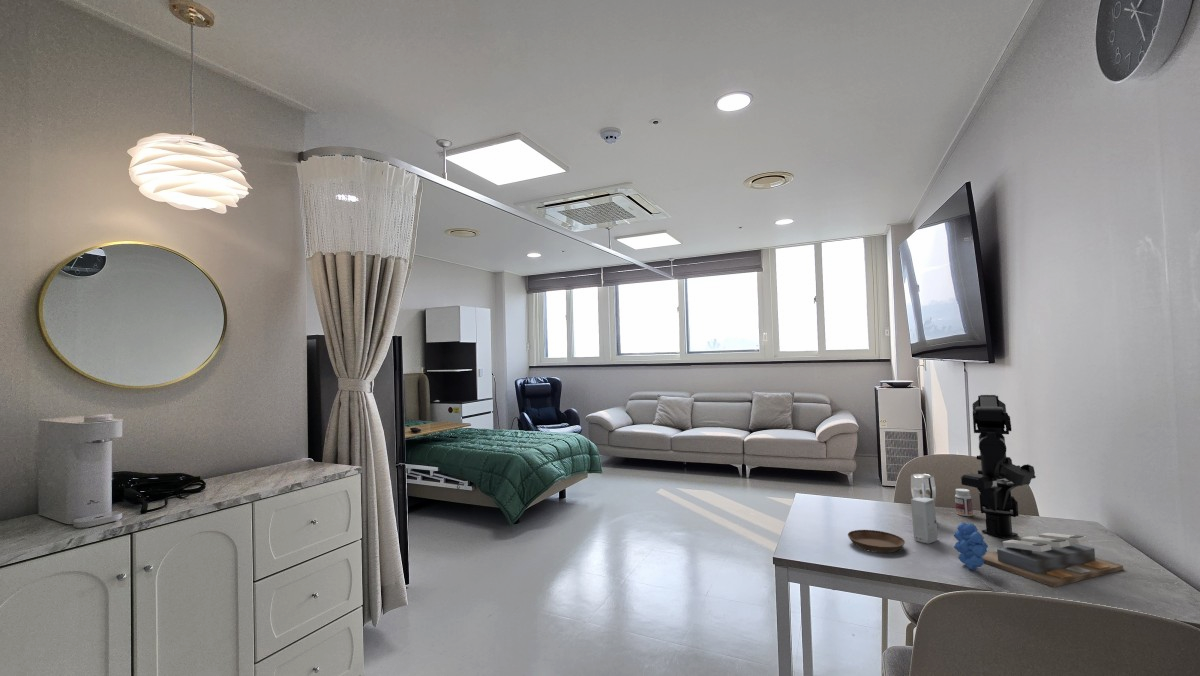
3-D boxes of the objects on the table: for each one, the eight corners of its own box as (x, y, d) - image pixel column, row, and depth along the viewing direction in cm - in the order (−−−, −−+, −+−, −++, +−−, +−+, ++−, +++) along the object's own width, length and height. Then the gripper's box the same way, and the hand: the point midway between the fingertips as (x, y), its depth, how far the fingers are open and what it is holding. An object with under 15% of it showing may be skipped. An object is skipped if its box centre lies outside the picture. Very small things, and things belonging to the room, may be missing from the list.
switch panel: (1040, 545, 141) (1039, 528, 141) (1123, 569, 124) (1121, 549, 124) (975, 559, 133) (973, 541, 134) (1053, 587, 116) (1051, 566, 116)
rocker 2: (1048, 537, 136) (1047, 531, 136) (1088, 541, 127) (1086, 536, 128) (1039, 539, 135) (1038, 533, 135) (1079, 543, 126) (1077, 537, 127)
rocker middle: (1031, 540, 134) (1029, 535, 134) (1070, 545, 125) (1068, 539, 126) (1021, 542, 132) (1020, 537, 133) (1060, 547, 124) (1059, 541, 124)
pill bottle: (970, 512, 173) (968, 488, 174) (975, 516, 169) (973, 491, 169) (954, 512, 175) (952, 487, 175) (958, 515, 170) (956, 491, 171)
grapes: (1004, 579, 121) (1000, 529, 122) (974, 578, 122) (970, 528, 123) (976, 560, 133) (973, 515, 133) (949, 560, 134) (945, 514, 134)
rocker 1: (1013, 544, 131) (1011, 538, 132) (1051, 549, 123) (1049, 543, 123) (1003, 546, 130) (1002, 540, 131) (1041, 551, 122) (1040, 545, 122)
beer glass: (908, 518, 169) (905, 474, 170) (927, 517, 170) (924, 473, 171) (923, 524, 163) (919, 478, 163) (943, 523, 163) (939, 477, 164)
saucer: (902, 541, 149) (901, 532, 150) (909, 559, 136) (908, 549, 136) (847, 536, 156) (846, 527, 156) (849, 552, 142) (848, 542, 142)
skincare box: (929, 544, 145) (926, 502, 146) (912, 540, 149) (909, 499, 150) (938, 539, 149) (935, 498, 150) (922, 535, 153) (919, 495, 153)
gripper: (1000, 460, 128) (1005, 522, 127) (1049, 454, 133) (1054, 513, 132) (957, 454, 138) (961, 511, 137) (1004, 448, 144) (1009, 503, 143)
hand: (997, 509), depth 137 cm, fingers open, 3 cm apart
